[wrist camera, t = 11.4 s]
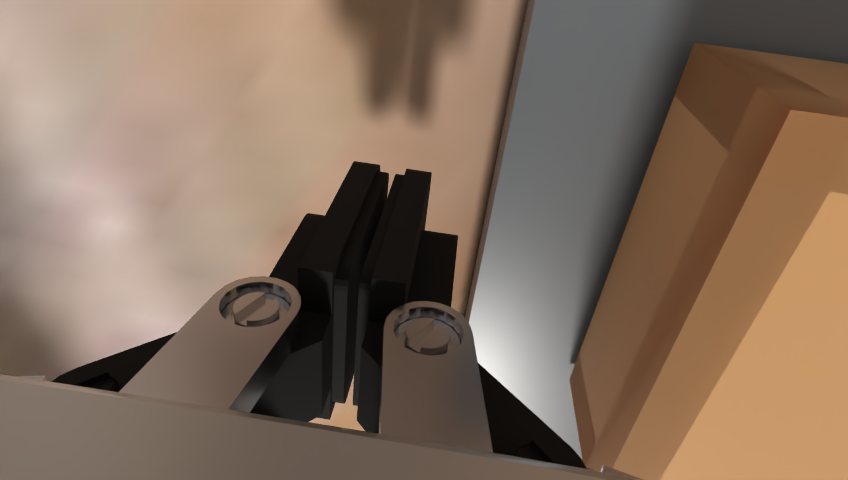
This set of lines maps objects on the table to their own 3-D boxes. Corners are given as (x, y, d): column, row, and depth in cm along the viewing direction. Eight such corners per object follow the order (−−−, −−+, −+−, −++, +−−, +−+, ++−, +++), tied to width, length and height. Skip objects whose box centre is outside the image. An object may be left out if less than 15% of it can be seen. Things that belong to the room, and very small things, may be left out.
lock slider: (569, 379, 15) (590, 511, 12) (694, 42, 10) (790, 110, 7) (788, 414, 15) (872, 557, 11) (1025, 88, 10) (1285, 178, 7)
